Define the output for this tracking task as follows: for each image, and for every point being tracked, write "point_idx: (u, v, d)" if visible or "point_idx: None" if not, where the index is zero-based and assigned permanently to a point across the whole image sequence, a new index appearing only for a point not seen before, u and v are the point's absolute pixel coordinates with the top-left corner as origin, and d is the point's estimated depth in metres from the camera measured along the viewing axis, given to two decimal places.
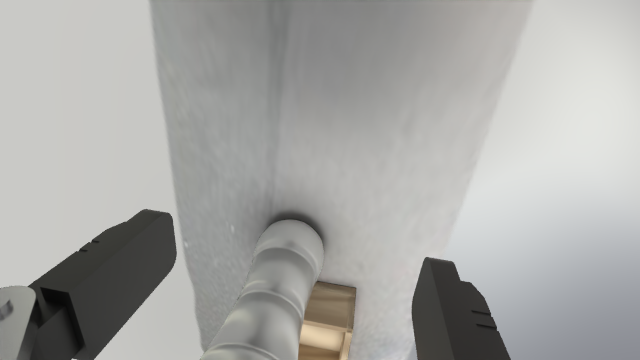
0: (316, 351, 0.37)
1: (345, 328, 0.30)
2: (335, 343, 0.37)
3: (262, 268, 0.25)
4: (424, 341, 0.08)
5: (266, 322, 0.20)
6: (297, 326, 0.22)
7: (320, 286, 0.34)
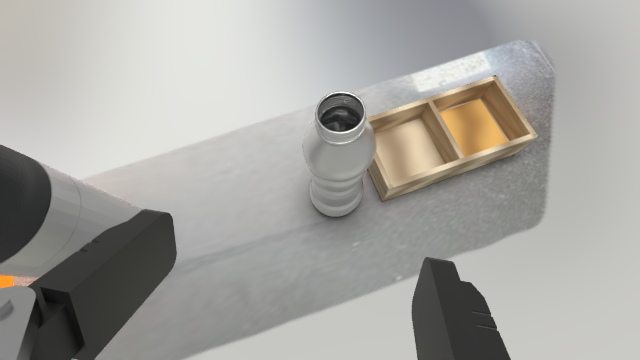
0: (429, 132, 0.42)
1: None
2: (412, 124, 0.43)
3: (319, 193, 0.34)
4: (424, 341, 0.08)
5: None
6: None
7: None
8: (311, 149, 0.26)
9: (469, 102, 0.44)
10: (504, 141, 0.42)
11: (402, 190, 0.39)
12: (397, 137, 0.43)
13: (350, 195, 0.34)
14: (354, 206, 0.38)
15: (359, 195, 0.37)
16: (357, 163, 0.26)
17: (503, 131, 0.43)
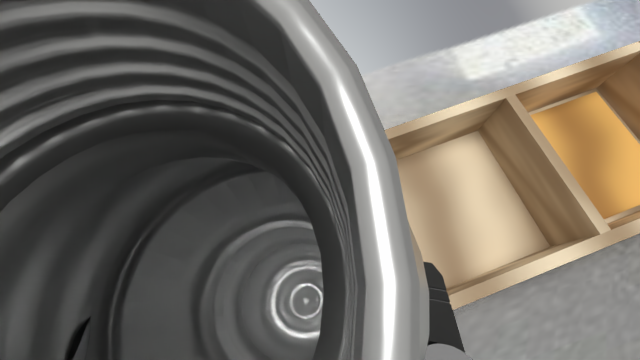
0: (502, 160, 0.20)
1: None
2: (464, 145, 0.21)
3: None
4: None
5: None
6: None
7: None
8: None
9: (574, 98, 0.22)
10: None
11: None
12: (434, 171, 0.21)
13: None
14: None
15: None
16: None
17: None
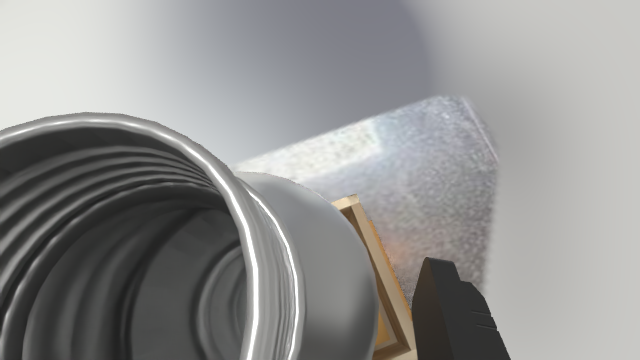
0: None
1: None
2: None
3: None
4: (424, 341, 0.08)
5: None
6: None
7: None
8: None
9: None
10: (379, 327, 0.20)
11: None
12: None
13: None
14: None
15: None
16: None
17: (381, 301, 0.21)
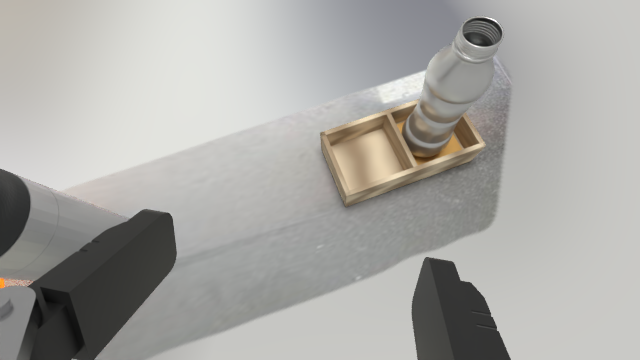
0: (390, 141, 0.46)
1: (322, 136, 0.43)
2: (375, 134, 0.47)
3: (422, 128, 0.38)
4: (424, 341, 0.08)
5: (423, 94, 0.35)
6: None
7: (330, 169, 0.46)
8: (442, 72, 0.30)
9: None
10: (459, 149, 0.45)
11: (362, 196, 0.42)
12: (360, 146, 0.46)
13: (450, 129, 0.38)
14: (445, 145, 0.42)
15: (451, 134, 0.41)
16: (483, 83, 0.30)
17: (459, 140, 0.46)
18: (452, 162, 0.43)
